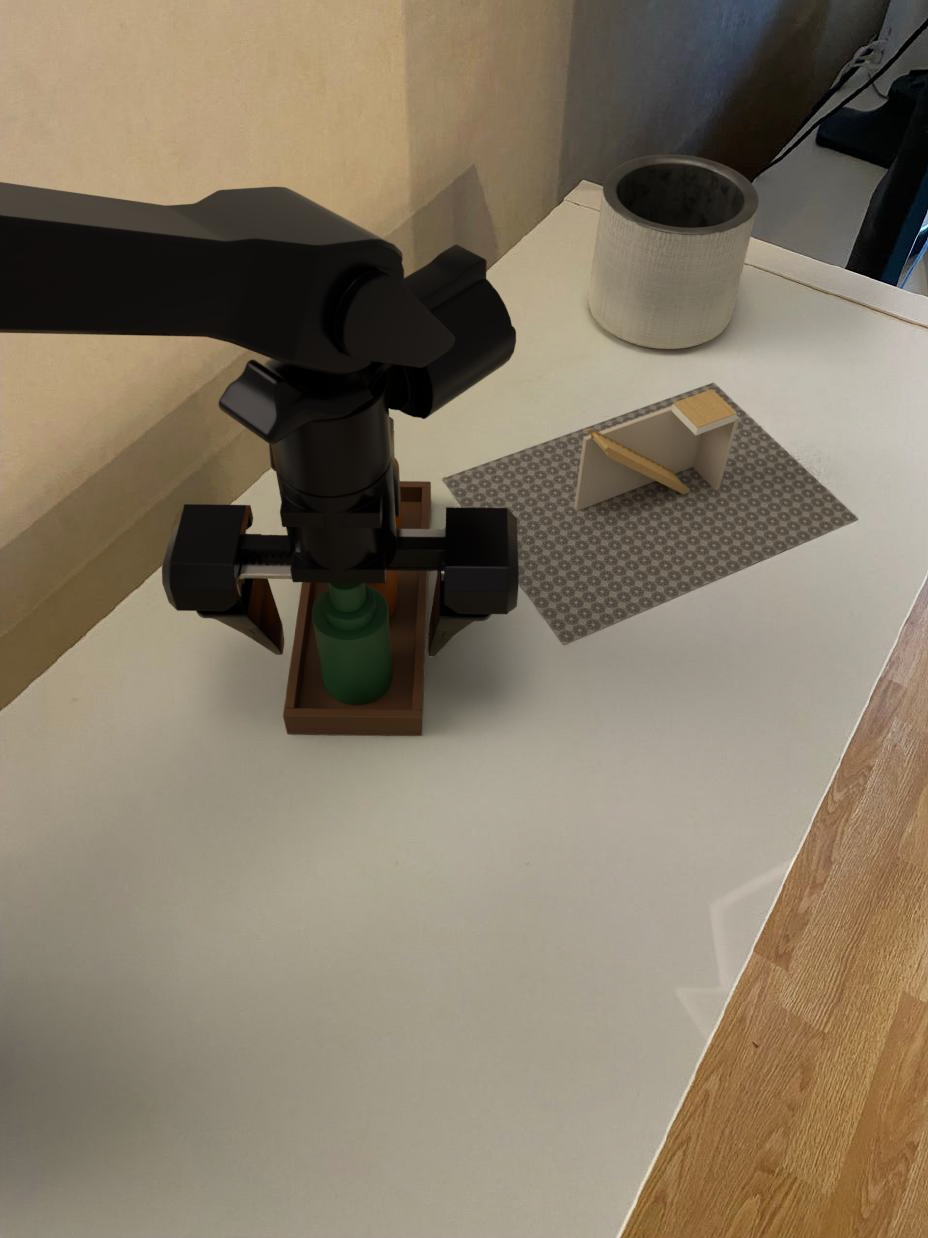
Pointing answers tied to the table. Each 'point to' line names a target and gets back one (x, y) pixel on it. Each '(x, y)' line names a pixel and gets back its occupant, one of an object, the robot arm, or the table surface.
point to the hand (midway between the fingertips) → (356, 649)
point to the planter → (670, 250)
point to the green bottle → (353, 642)
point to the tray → (404, 698)
